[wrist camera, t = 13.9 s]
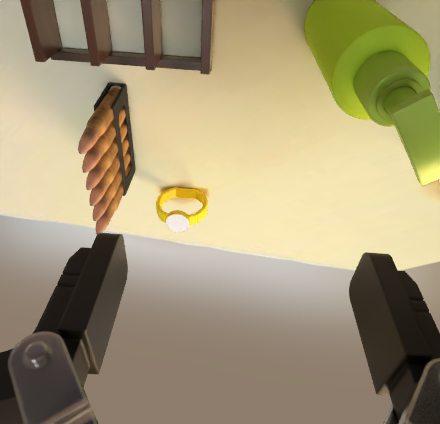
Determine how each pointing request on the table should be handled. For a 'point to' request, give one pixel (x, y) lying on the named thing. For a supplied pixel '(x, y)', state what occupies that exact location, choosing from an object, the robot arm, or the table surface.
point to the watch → (180, 219)
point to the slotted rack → (101, 41)
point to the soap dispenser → (378, 74)
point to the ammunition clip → (108, 153)
